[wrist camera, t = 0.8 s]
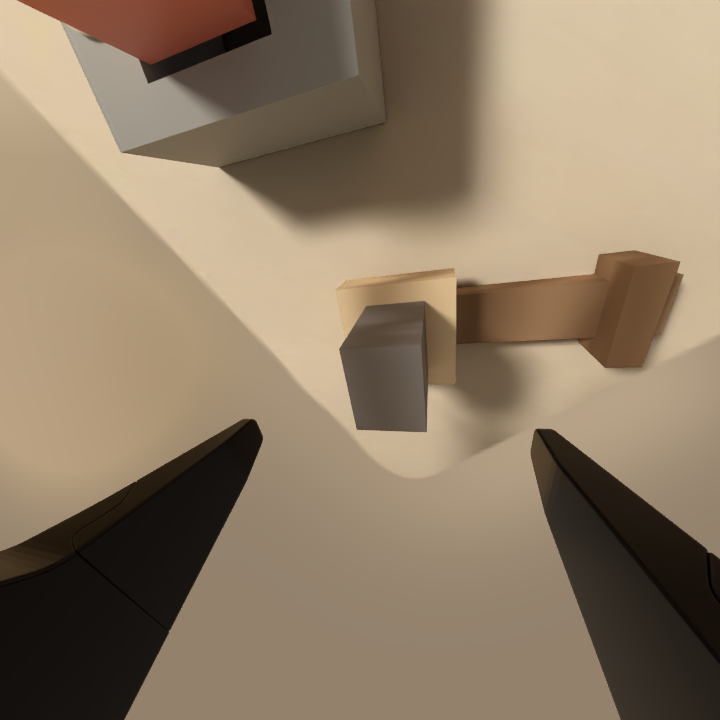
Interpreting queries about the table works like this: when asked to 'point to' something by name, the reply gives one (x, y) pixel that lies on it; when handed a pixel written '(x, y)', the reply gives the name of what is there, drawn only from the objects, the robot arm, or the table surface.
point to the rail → (578, 308)
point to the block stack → (397, 346)
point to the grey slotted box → (244, 86)
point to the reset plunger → (150, 22)
